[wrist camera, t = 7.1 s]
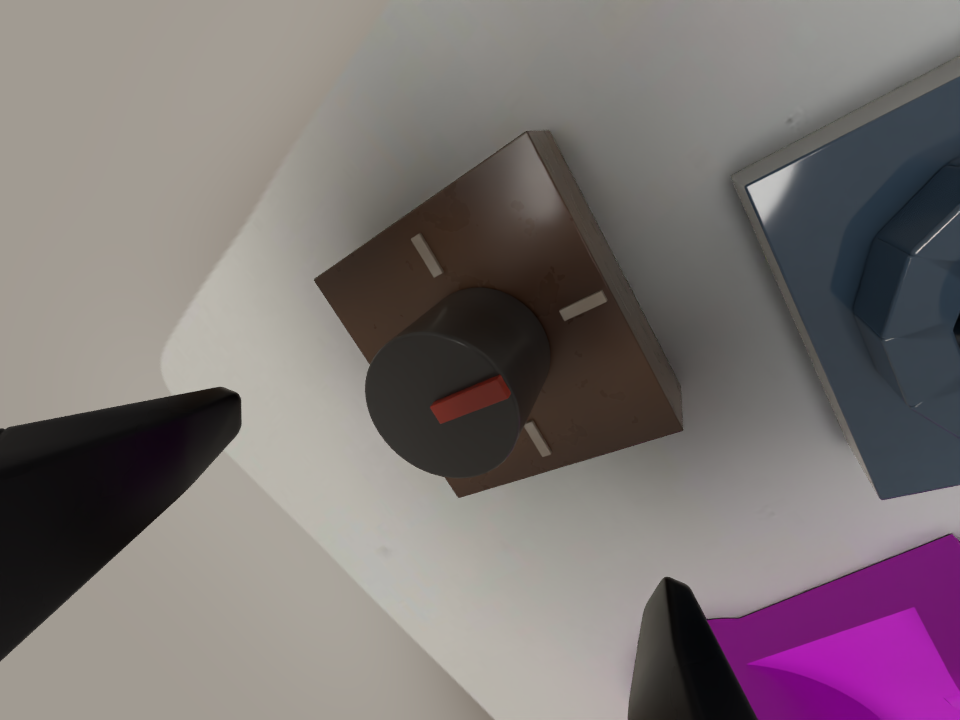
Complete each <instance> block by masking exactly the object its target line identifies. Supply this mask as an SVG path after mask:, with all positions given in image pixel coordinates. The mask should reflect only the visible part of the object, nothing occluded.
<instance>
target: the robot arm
mask: <svg viewBox="0 0 960 720" xmlns="http://www.w3.org/2000/svg"><path fill="white" fill-rule="evenodd" d="M240 428H241V398H240V396H239V394H238V393H236V392H234V391H231V390H229V389H227V388H224V387H216V388H211V389H206V390H200V391H195V392H190V393H185V394H179V395H174V396H169V397H164V398H159V399H154V400H148V401H143V402H138V403H133V404H127V405H122V406H117V407H112V408H106V409H101V410H96V411H91V412H86V413H80V414H75V415H70V416H65V417H59V418H54V419H49V420H44V421H38V422H33V423H28V424H23V425H17V426H13V427H8V428H7V429H0V661H1V660H2V659H3V658H5V657H6V656H7V655H8V654H9V653H10V652H11V651H12V650H13V649H14V648H15V647H16V646H17V645H19V644H20V643H21V642H22V641H23V640H24V639H25V638H26V637H27V636H29V635H30V634H31V633H32V632H33V631H34V630H35V629H36V628H37V627H38V626H39V625H41V624H42V623H43V622H44V621H45V620H46V619H47V618H48V617H49V616H50V615H51V614H53V613H54V612H55V611H56V610H57V609H58V608H59V607H60V606H61V605H62V604H63V603H64V602H66V600H68V599H69V598H70V597H71V596H72V595H73V594H74V593H75V592H77V591H78V589H80V588H81V587H82V586H83V585H84V584H85V583H86V582H87V581H89V580H90V579H91V578H92V577H93V576H94V575H95V574H96V573H97V572H98V571H99V570H100V569H101V568H103V567H104V566H105V565H106V564H107V563H108V562H109V561H110V560H111V559H112V558H113V557H115V556H116V555H117V554H118V553H119V552H120V551H121V550H122V549H123V548H124V547H126V546H127V545H128V544H129V543H130V542H131V541H132V540H133V539H134V538H135V537H136V536H137V535H139V534H140V533H141V532H142V531H143V530H144V529H145V528H146V527H147V526H148V525H149V524H151V523H152V522H153V521H154V520H155V519H156V518H157V517H158V516H159V515H160V514H162V513H163V512H164V511H165V510H166V509H167V508H168V507H169V506H170V505H171V504H172V503H173V502H175V501H176V500H177V499H178V498H179V497H180V496H181V495H182V494H183V493H184V492H185V491H186V490H187V489H188V488H189V487H190V486H191V485H192V484H193V483H194V482H195V481H196V480H197V479H198V478H199V476H200V475H201V474H202V473H203V472H204V471H205V470H206V469H207V468H208V466H209V465H210V464H211V463H212V462H213V461H214V460H215V459H216V458H217V457H218V455H219V454H220V453H221V452H222V451H223V450H224V449H225V448H226V447H227V445H228V444H229V443H230V442H231V441H232V440H233V439H234V438H235V437H236V435H237V434H238V432H239V430H240ZM628 720H758V718H757V716H756V714H755V712H754V710H753V709H752V707H751V705H750V703H749V701H748V699H747V697H746V695H745V693H744V691H743V689H742V687H741V685H740V683H739V681H738V679H737V678H736V676H735V674H734V672H733V670H732V668H731V666H730V664H729V662H728V660H727V658H726V656H725V654H724V652H723V650H722V648H721V646H720V645H719V643H718V641H717V639H716V637H715V635H714V633H713V631H712V629H711V627H710V625H709V623H708V621H707V619H706V617H705V615H704V613H703V612H702V610H701V608H700V606H699V604H698V602H697V600H696V598H695V596H694V594H693V592H692V590H691V589H690V587H689V586H688V585H686V584H684V583H682V582H680V581H677V580H675V579H673V578H670V577H664V578H663V579H662V580H661V581H660V583H659V585H658V586H657V588H656V589H655V591H654V593H653V594H652V596H651V597H650V599H649V600H648V602H647V604H646V606H645V609H644V612H643V617H642V623H641V629H640V635H639V641H638V647H637V653H636V660H635V666H634V672H633V678H632V684H631V691H630V698H629V708H628Z"/></svg>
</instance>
